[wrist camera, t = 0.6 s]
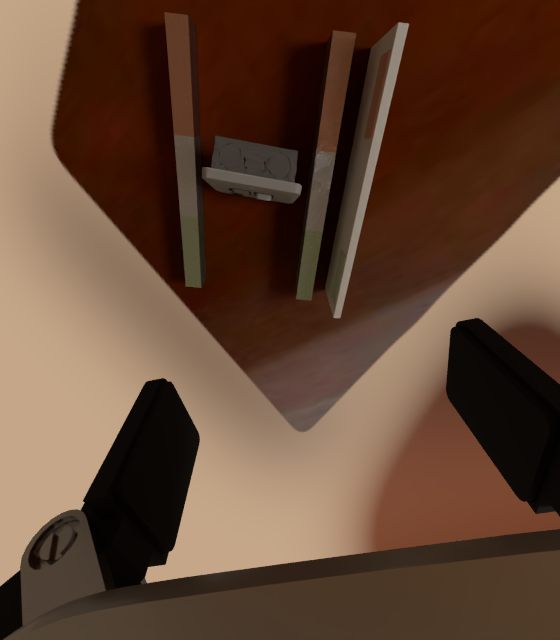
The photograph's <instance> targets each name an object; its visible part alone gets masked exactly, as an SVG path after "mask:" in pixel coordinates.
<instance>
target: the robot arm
mask: <svg viewBox="0 0 560 640" xmlns="http://www.w3.org/2000/svg"><path fill="white" fill-rule="evenodd" d="M446 392H447V396H448V398H449V400H450V402H451V403H452V405H453V406H454V407H455V409H456V410H457V412H458V413H459V415H460V416H461V417H462V419H463V420H464V421H465V423H466V425H467V426H468V427H469V429H470V430H471V432H472V433H473V435H474V436H475V437H476V439H477V440H478V442H479V443H480V445H481V446H482V447H483V449H484V450H485V452H486V453H487V455H488V456H489V457H490V459H491V460H492V462H493V463H494V464H495V466H496V467H497V469H498V470H499V472H500V473H501V474H502V476H503V477H504V479H505V480H506V481H507V483H508V484H509V486H510V487H511V489H512V490H513V492H514V493H515V494H516V496H517V497H518V498H519V499H520V500H521V501H524V502H525V501H527V502H528V504H529V505H530V506H531V508H532V509H533V511H534V512H535V513H536V514H538V513H546V512H553V511H556V512H557V513H558V515H559V516H560V384H558V383H557V382H556V381H555V380H554V379H552V378H551V377H550V376H549V375H547V374H546V373H545V372H544V371H542V370H541V369H540V368H539V367H538V366H537V365H535V364H534V363H533V362H532V361H531V360H529V359H528V358H527V357H526V356H525V355H523V354H522V353H521V352H520V351H518V350H517V349H516V348H515V347H514V346H512V345H511V344H510V343H509V342H508V341H506V340H505V339H504V338H503V337H502V336H500V335H499V334H498V333H497V332H496V331H494V330H493V329H492V328H491V327H489V326H488V325H487V324H486V323H484V322H483V321H482V320H480V319H479V318H475V319H470V320H465V321H459V322H457V324H456V327H453V328H452V329H451V334H450V346H449V359H448V371H447V385H446ZM199 440H200V439H199V433H198V431H197V429H196V427H195V425H194V424H193V421H192V419H191V417H190V416H189V414H188V412H187V410H186V408H185V406H184V404H183V402H182V400H181V398H180V397H179V395H178V393H177V391H176V389H175V387H174V385H173V384H172V382H168V381H167V380H166V379H164V378H162V379H157V380H152V381H148V382H146V383H145V385H144V386H143V388H142V390H141V392H140V394H139V396H138V398H137V400H136V401H135V403H134V405H133V407H132V409H131V411H130V413H129V415H128V416H127V418H126V421H125V422H124V424H123V426H122V428H121V430H120V432H119V433H118V435H117V438H116V439H115V441H114V443H113V445H112V447H111V449H110V451H109V452H108V454H107V456H106V458H105V460H104V462H103V464H102V466H101V467H100V469H99V471H98V474H97V475H96V477H95V479H94V481H93V483H92V484H91V486H90V488H89V490H88V492H87V494H86V496H85V498H84V500H83V501H84V502H85V503H84V505H83V507H82V509H81V511H80V510H69V511H66V512H64V513H61V514H60V515H58V516H57V517H55V518H53V519H51V520H50V521H49V522H48V523H47V524H45V525H44V526H43V527H42V528H41V529H40V530H39V532H38V533H37V534H36V535H35V536H34V537H33V539H32V540H31V541H30V543H29V544H28V546H27V547H26V550H25V552H24V554H23V556H22V560H21V567H20V571H19V572H17V573H16V574H15V575H14V576H13V577H11V578H10V579H9V580H7V581H6V582H5V583H4V584H3V585H2V586H0V640H560V529H558V530H549V531H540V532H530V533H522V534H512V535H503V536H495V537H487V538H479V539H472V540H463V541H455V542H448V543H440V544H432V545H424V546H416V547H408V548H400V549H393V550H386V551H378V552H370V553H363V554H355V555H347V556H340V557H332V558H325V559H317V560H309V561H302V562H295V563H287V564H279V565H272V566H265V567H258V568H251V569H244V570H236V571H229V572H221V573H214V574H207V575H199V576H192V577H185V578H178V579H173V580H166V581H160V582H153V583H146V580H145V575H146V572H147V568H148V567H151V566H159V565H165V564H166V561H167V557H168V553H169V551H172V550H173V548H174V546H175V542H176V538H177V533H178V530H179V526H180V521H181V517H182V513H183V509H184V504H185V501H186V496H187V492H188V488H189V484H190V480H191V475H192V472H193V467H194V463H195V459H196V455H197V451H198V446H199V442H200V441H199Z"/></svg>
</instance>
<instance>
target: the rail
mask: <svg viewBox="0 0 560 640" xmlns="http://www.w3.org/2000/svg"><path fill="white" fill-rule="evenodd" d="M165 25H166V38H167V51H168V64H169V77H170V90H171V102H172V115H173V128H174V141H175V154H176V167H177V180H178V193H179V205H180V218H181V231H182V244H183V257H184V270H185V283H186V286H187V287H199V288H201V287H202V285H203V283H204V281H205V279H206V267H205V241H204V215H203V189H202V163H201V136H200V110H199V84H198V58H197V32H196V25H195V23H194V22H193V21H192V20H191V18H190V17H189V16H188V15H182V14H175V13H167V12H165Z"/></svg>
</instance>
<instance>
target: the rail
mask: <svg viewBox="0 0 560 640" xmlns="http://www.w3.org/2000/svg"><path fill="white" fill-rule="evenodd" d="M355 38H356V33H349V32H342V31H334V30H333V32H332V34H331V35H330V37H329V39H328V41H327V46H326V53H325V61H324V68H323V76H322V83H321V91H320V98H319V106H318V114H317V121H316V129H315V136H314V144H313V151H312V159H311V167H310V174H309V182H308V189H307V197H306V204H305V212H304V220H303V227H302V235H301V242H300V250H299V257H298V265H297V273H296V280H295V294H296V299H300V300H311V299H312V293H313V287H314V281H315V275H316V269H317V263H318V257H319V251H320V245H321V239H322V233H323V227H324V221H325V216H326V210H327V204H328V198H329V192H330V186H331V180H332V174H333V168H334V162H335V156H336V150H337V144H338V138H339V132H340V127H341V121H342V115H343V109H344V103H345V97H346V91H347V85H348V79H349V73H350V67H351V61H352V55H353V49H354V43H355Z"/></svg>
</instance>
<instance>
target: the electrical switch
mask: <svg viewBox="0 0 560 640" xmlns="http://www.w3.org/2000/svg"><path fill="white" fill-rule="evenodd" d="M227 143H228V144H227ZM280 152H281V153H280ZM297 153H298V151H295V150H289V149H284V148H279V147H273V146H268V145H263V144H257V143H252V142H247V141H241V140H236V139H231V138H225V137H220V136H215V141H214V151H213V155H212V164H211V168H208V167H202V178H203V179H204V180H205V181H206V182H207V183H208V184H210V185H211V186H212V187H213V188H214V189H215V190H217V191H220V192H223V193H229V194H235V195H241V196H246V197H252V198H257V199H261V200H267V201H276V202H282V203H293V202H294V201H295V200H296V199H297V198H298V197H299V196H300V193H301V189H302V186H301V185H300V184H298V183H294V182H295V176H296V170H297V158H298V154H297ZM244 157H245V159H246V161H244ZM269 158H270V159H269ZM268 160H269V162H268ZM289 160H290V161H289ZM264 162H265V164H264Z"/></svg>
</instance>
